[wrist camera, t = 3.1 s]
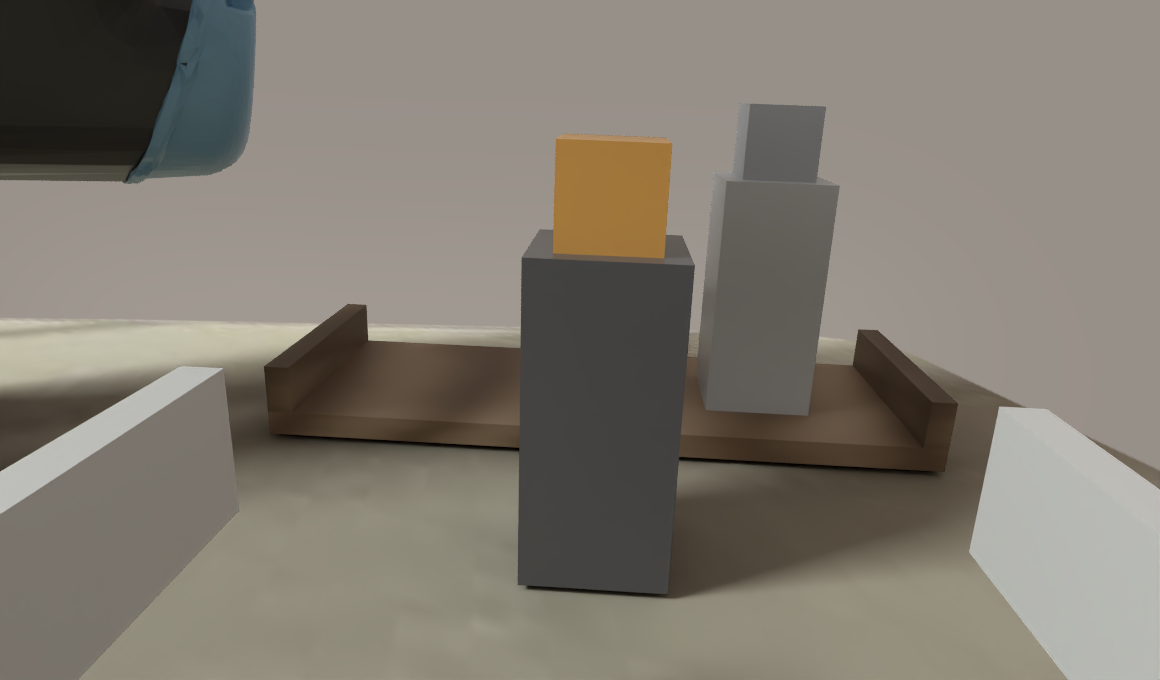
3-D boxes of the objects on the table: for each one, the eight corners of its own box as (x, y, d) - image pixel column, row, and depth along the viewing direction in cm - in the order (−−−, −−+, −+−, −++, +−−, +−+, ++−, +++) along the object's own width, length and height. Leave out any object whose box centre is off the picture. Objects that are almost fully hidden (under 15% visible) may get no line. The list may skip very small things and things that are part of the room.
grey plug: (705, 410, 34) (733, 103, 30) (696, 375, 38) (720, 102, 34) (807, 415, 34) (850, 107, 30) (787, 379, 38) (821, 106, 34)
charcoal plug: (517, 584, 23) (523, 138, 19) (534, 508, 27) (541, 131, 23) (667, 594, 23) (704, 145, 19) (660, 515, 27) (689, 137, 23)
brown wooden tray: (270, 433, 32) (264, 366, 31) (350, 357, 42) (348, 304, 41) (944, 471, 31) (957, 403, 30) (869, 384, 41) (877, 330, 40)
